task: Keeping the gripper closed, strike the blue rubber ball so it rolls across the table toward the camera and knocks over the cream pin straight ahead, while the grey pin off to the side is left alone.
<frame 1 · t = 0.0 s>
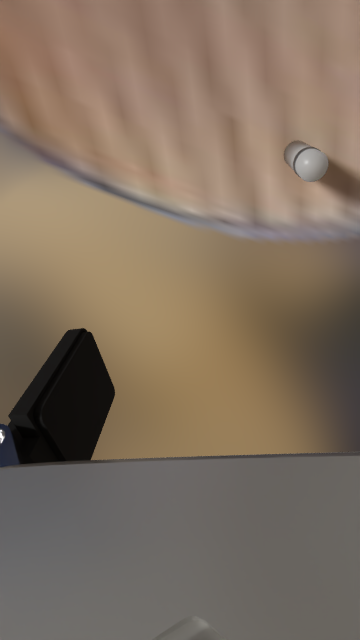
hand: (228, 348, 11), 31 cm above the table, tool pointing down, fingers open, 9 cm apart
grey pin: (295, 153, 36), on the table
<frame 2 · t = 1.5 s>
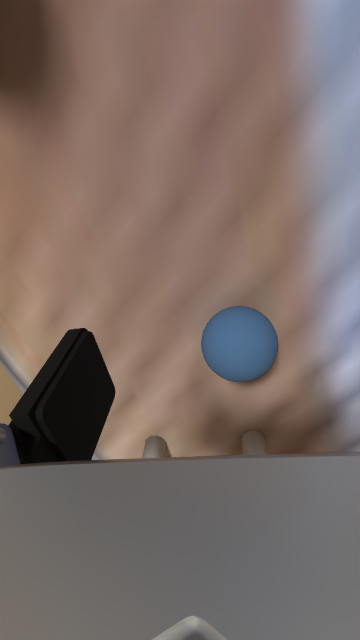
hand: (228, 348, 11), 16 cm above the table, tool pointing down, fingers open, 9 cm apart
ball: (238, 343, 27), on the table
grey pin: (156, 443, 39), on the table
cream pin: (252, 438, 37), on the table
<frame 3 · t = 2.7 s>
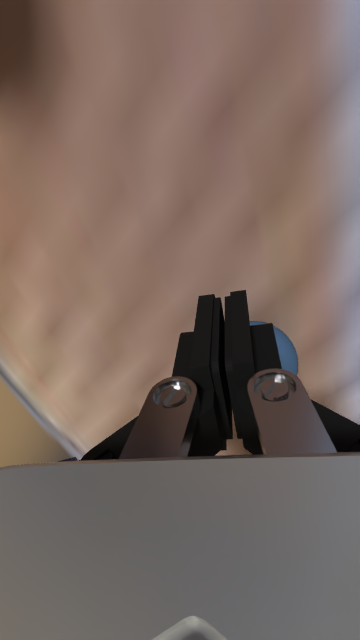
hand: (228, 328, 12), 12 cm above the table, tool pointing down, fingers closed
ball: (253, 363, 24), on the table
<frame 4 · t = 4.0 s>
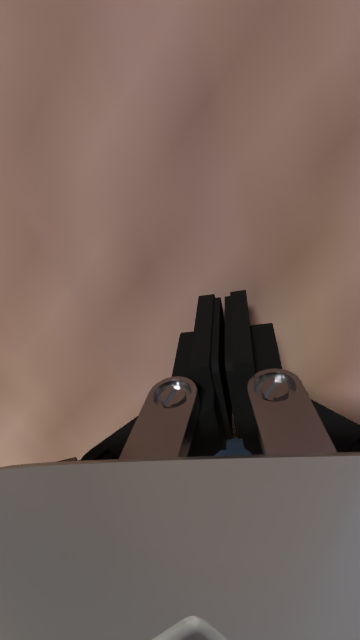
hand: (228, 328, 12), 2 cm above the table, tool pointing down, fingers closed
ball: (259, 502, 16), on the table
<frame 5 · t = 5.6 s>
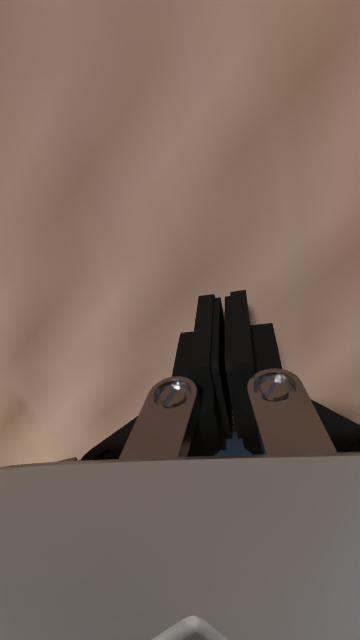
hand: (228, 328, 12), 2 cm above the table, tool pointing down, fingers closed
ball: (215, 496, 16), on the table
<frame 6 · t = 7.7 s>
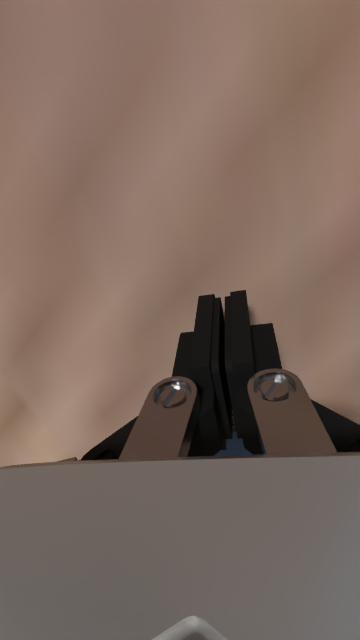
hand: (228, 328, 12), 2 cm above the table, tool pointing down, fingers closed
ball: (215, 496, 16), on the table
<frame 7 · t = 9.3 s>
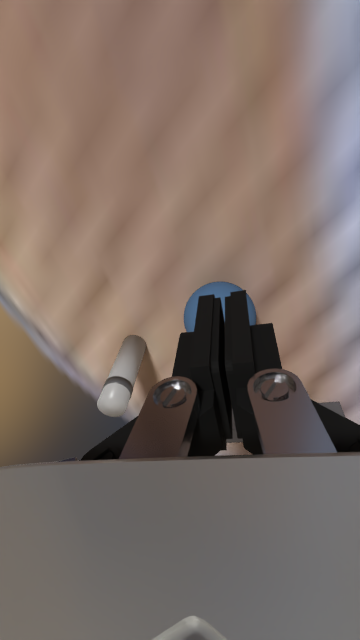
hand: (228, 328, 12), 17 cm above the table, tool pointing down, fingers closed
ball: (219, 317, 29), on the table
back wall: (262, 412, 38), on the table
grey pin: (134, 344, 35), on the table
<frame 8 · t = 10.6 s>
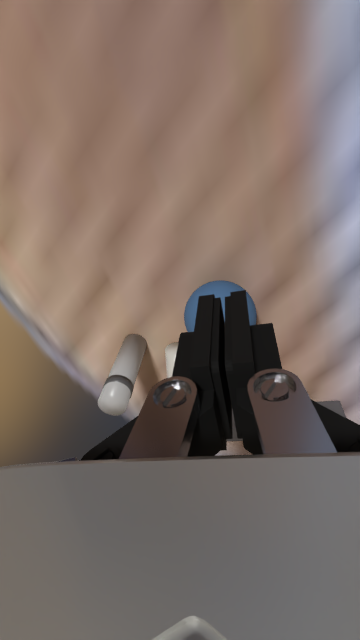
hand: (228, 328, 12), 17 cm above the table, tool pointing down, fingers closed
ball: (220, 316, 29), on the table
back wall: (263, 411, 38), on the table
grey pin: (135, 343, 35), on the table
cream pin: (177, 349, 33), point 1 cm above the table, tilted 90°
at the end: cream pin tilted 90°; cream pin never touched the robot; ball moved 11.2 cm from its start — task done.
